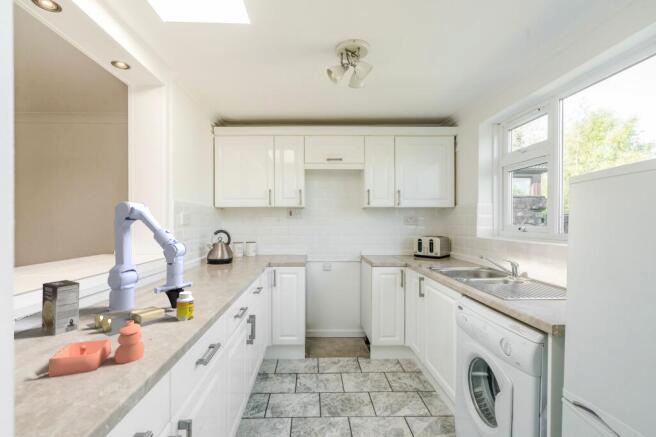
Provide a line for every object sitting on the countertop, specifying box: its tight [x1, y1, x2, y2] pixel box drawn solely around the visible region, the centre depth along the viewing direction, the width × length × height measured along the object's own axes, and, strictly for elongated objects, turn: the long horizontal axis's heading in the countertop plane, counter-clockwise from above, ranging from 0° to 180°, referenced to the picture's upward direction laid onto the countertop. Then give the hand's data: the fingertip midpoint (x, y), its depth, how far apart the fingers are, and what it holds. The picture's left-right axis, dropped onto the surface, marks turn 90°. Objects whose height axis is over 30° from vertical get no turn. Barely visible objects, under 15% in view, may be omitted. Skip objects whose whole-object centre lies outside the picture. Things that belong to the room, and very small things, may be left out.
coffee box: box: [41, 279, 80, 336], centre depth 93 cm, size 9×6×16 cm
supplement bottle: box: [175, 290, 195, 322], centre depth 105 cm, size 6×6×10 cm
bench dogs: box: [93, 314, 113, 334], centre depth 94 cm, size 8×2×4 cm, turn 58°
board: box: [86, 313, 176, 337], centre depth 102 cm, size 18×21×1 cm
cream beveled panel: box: [129, 306, 166, 323], centre depth 105 cm, size 8×8×2 cm
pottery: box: [48, 320, 145, 378], centre depth 74 cm, size 18×10×10 cm, turn 109°
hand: (174, 308), depth 114 cm, fingers closed
